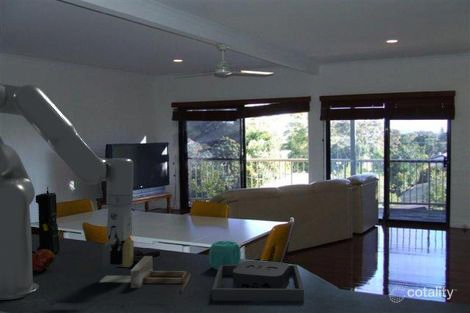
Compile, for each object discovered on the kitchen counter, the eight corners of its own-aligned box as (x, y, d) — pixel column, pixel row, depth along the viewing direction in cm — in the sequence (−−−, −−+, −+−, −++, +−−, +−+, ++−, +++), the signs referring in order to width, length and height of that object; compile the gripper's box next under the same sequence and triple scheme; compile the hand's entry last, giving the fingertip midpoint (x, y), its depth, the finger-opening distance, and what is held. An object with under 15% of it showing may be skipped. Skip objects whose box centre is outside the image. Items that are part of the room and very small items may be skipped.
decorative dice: (219, 263, 161) (219, 239, 161) (241, 265, 158) (240, 241, 158) (208, 269, 154) (208, 244, 154) (230, 271, 151) (230, 247, 150)
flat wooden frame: (89, 292, 132) (88, 270, 132) (107, 275, 148) (107, 255, 148) (181, 292, 131) (181, 270, 130) (190, 275, 147) (190, 256, 146)
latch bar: (102, 265, 138) (103, 241, 137) (106, 262, 141) (107, 239, 141) (129, 267, 137) (130, 243, 137) (133, 263, 141) (133, 240, 140)
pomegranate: (58, 274, 157) (38, 254, 160) (66, 259, 155) (46, 239, 157) (40, 283, 151) (20, 262, 154) (48, 267, 148) (28, 246, 151)
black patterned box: (137, 244, 172) (102, 252, 160) (173, 246, 160) (138, 255, 148) (138, 259, 172) (103, 268, 160) (175, 262, 159) (139, 272, 148)
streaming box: (291, 280, 142) (291, 263, 142) (280, 295, 128) (280, 276, 128) (245, 276, 147) (245, 259, 146) (230, 290, 133) (229, 272, 133)
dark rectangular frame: (212, 300, 124) (211, 289, 124) (219, 274, 148) (219, 264, 148) (303, 301, 123) (303, 289, 123) (296, 274, 147) (296, 264, 147)
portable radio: (52, 257, 172) (50, 188, 171) (35, 257, 172) (33, 188, 171) (60, 252, 180) (58, 186, 178) (44, 252, 180) (42, 186, 179)
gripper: (124, 204, 130) (122, 270, 131) (139, 197, 147) (137, 256, 147) (97, 203, 130) (95, 269, 131) (115, 196, 147) (114, 255, 148)
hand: (118, 261), depth 139 cm, fingers closed on latch bar, 3 cm apart
